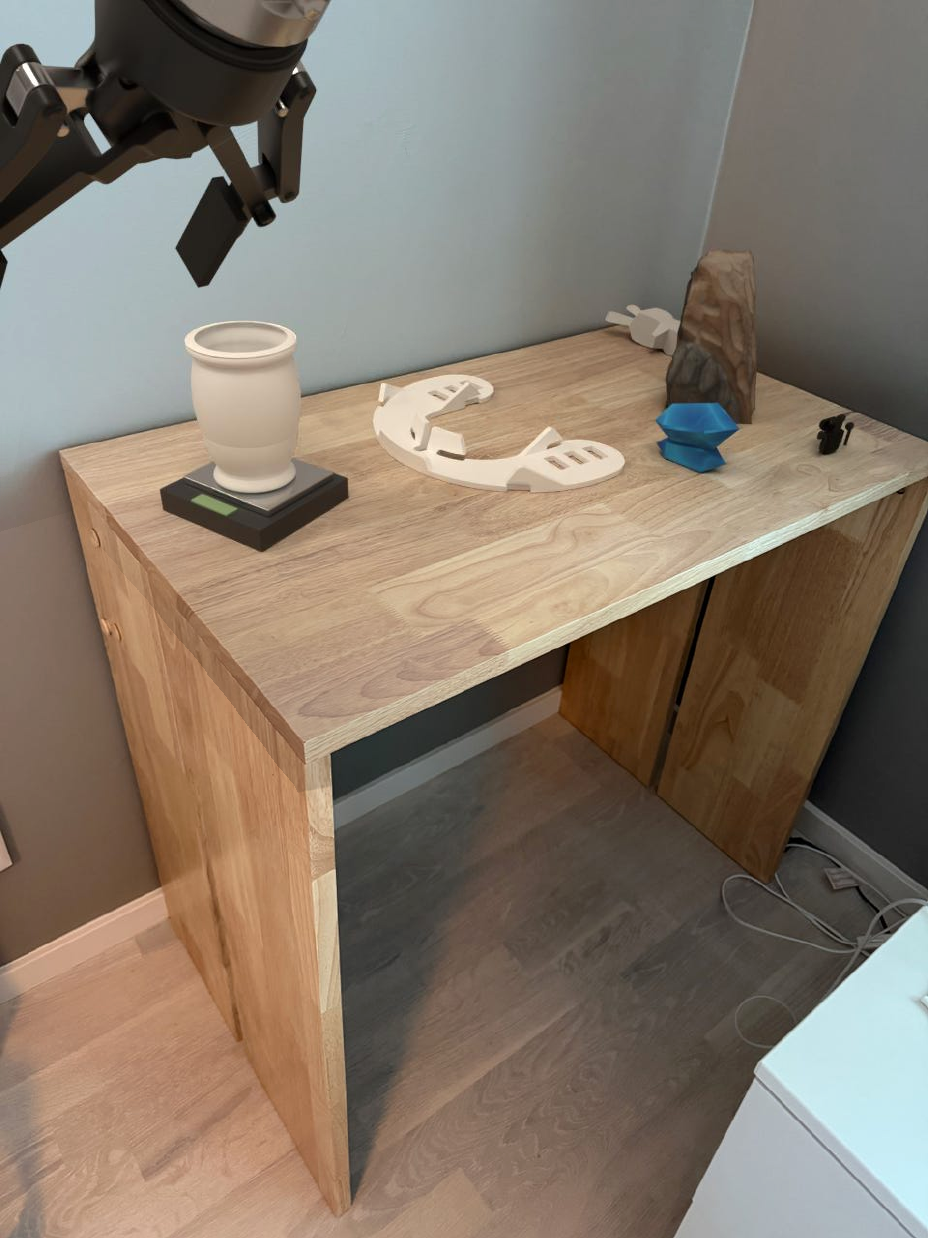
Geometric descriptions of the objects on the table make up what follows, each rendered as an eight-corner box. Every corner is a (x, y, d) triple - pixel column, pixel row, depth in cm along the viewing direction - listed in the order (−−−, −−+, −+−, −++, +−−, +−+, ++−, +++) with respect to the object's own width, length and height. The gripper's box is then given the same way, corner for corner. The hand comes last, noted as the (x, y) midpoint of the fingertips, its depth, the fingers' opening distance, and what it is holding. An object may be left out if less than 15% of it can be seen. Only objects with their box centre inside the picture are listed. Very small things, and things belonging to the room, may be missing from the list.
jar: (208, 505, 88) (188, 359, 79) (199, 459, 96) (180, 321, 87) (313, 493, 91) (305, 352, 82) (296, 450, 99) (287, 316, 90)
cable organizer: (640, 467, 107) (645, 442, 105) (488, 522, 95) (491, 494, 93) (464, 374, 129) (465, 351, 127) (322, 409, 116) (320, 384, 114)
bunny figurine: (679, 338, 134) (604, 301, 141) (670, 369, 137) (596, 332, 145) (713, 326, 140) (638, 291, 147) (703, 356, 143) (631, 320, 150)
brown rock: (660, 419, 119) (690, 266, 107) (649, 383, 129) (675, 240, 118) (753, 425, 119) (794, 272, 107) (734, 389, 129) (769, 246, 117)
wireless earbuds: (814, 460, 112) (826, 423, 109) (799, 452, 113) (810, 415, 110) (849, 448, 115) (861, 412, 112) (833, 441, 116) (845, 405, 113)
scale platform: (183, 482, 93) (182, 475, 93) (251, 448, 101) (250, 441, 100) (268, 517, 89) (268, 510, 88) (333, 478, 96) (333, 472, 95)
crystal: (668, 387, 110) (759, 395, 103) (669, 454, 114) (756, 466, 107) (636, 403, 106) (729, 412, 98) (638, 472, 110) (727, 486, 102)
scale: (163, 509, 94) (159, 487, 92) (254, 462, 103) (252, 441, 102) (261, 552, 88) (259, 529, 86) (348, 497, 98) (348, 476, 96)
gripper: (-71, 73, 25) (-113, 408, 42) (487, 53, 41) (295, 302, 57) (-215, -170, 25) (-200, 267, 41) (406, -97, 40) (236, 199, 57)
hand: (88, 288), depth 49 cm, fingers open, 13 cm apart
